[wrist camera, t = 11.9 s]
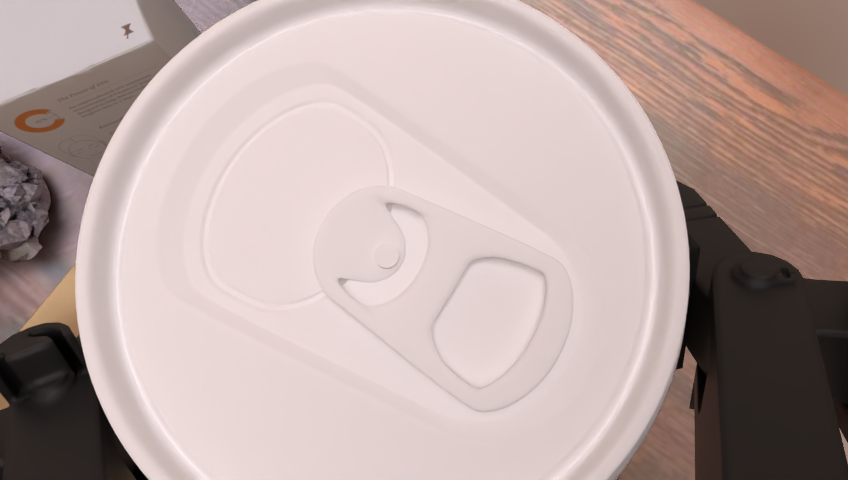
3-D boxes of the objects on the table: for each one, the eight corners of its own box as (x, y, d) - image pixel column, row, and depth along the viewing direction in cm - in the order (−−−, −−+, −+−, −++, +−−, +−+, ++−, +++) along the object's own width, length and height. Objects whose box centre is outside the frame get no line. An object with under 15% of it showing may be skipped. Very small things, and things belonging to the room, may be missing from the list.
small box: (225, 61, 38) (109, -87, 25) (259, 149, 36) (156, 41, 24) (105, 110, 37) (-75, -14, 25) (136, 201, 36) (-36, 119, 23)
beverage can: (382, 145, 20) (281, -164, 8) (601, 270, 19) (858, 128, 7) (245, 358, 19) (-109, 367, 7) (469, 504, 18) (505, 812, 6)
